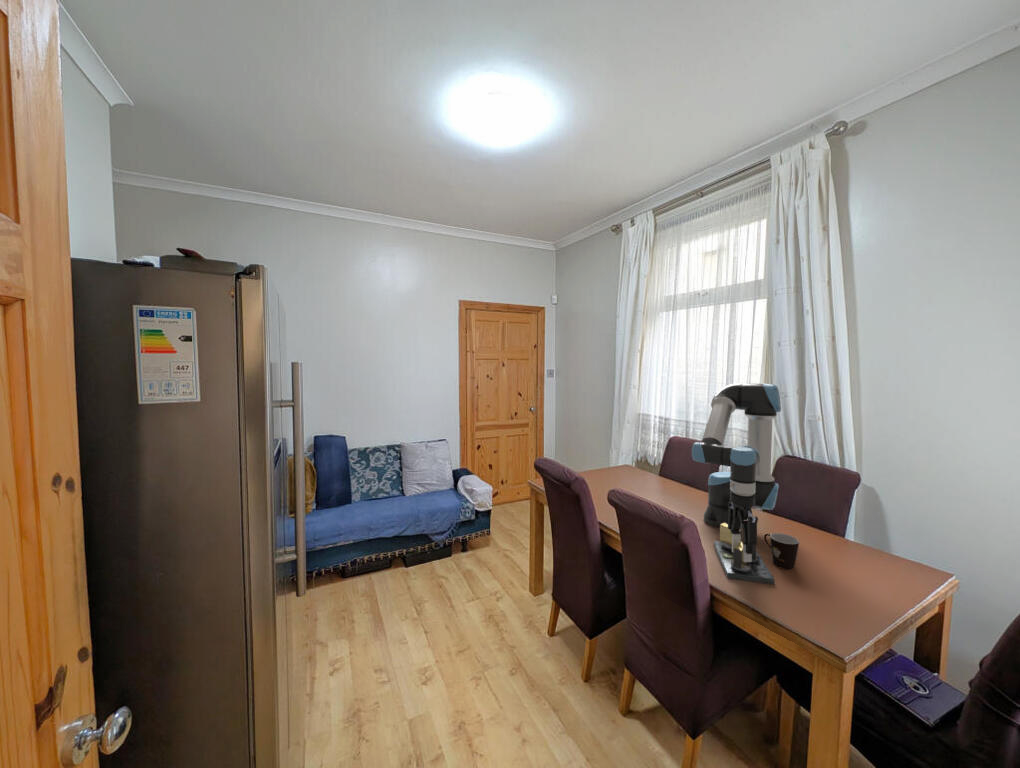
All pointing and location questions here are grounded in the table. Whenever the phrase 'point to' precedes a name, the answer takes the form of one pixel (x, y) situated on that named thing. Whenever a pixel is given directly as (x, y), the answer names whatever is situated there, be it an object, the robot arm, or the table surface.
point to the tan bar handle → (740, 560)
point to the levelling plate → (756, 575)
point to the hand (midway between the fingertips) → (741, 556)
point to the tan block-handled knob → (726, 536)
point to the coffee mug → (783, 550)
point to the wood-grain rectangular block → (754, 554)
